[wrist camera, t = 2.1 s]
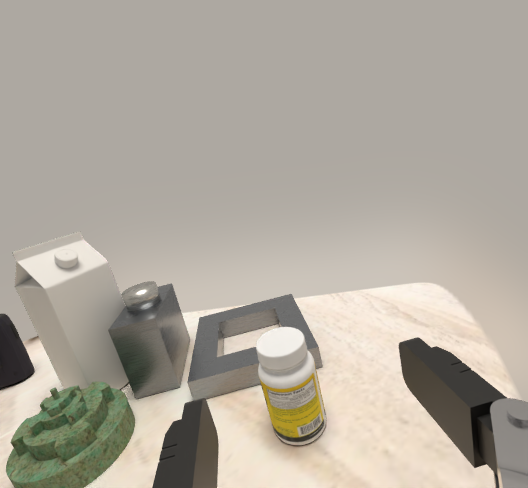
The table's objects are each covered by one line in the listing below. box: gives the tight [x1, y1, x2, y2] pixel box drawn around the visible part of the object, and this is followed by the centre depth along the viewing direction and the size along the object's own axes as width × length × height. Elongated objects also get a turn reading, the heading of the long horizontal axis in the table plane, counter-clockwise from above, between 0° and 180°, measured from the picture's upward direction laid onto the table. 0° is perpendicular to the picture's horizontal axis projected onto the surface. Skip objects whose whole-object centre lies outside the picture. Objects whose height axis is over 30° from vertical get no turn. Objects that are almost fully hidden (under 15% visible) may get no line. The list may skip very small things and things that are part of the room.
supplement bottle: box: [256, 327, 326, 445], centre depth 25 cm, size 5×5×8 cm
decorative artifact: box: [6, 382, 135, 488], centre depth 28 cm, size 10×7×10 cm
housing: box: [108, 282, 322, 401], centre depth 37 cm, size 21×14×11 cm, turn 97°
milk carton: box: [12, 232, 129, 390], centre depth 36 cm, size 7×7×19 cm
